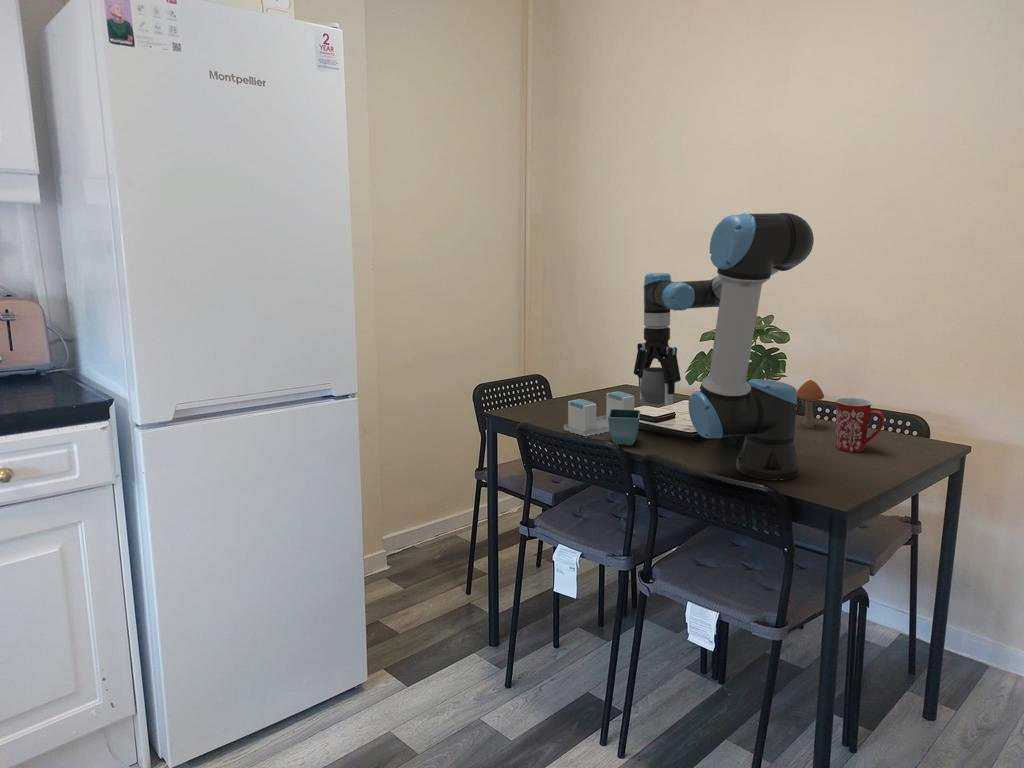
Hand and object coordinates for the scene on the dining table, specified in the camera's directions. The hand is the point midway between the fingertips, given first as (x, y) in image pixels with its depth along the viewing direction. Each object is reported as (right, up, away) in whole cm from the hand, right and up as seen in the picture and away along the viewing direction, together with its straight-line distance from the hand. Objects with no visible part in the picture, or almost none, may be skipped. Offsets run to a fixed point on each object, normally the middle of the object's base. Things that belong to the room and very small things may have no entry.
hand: (656, 401), depth 211 cm
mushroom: (+47, -8, +6) cm, 48 cm away
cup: (0, 0, 0) cm, 0 cm away
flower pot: (-10, -12, -5) cm, 17 cm away
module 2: (-8, -6, +15) cm, 18 cm away
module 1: (-21, -8, +6) cm, 24 cm away
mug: (+52, -13, -15) cm, 56 cm away
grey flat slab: (-15, -8, +11) cm, 20 cm away
